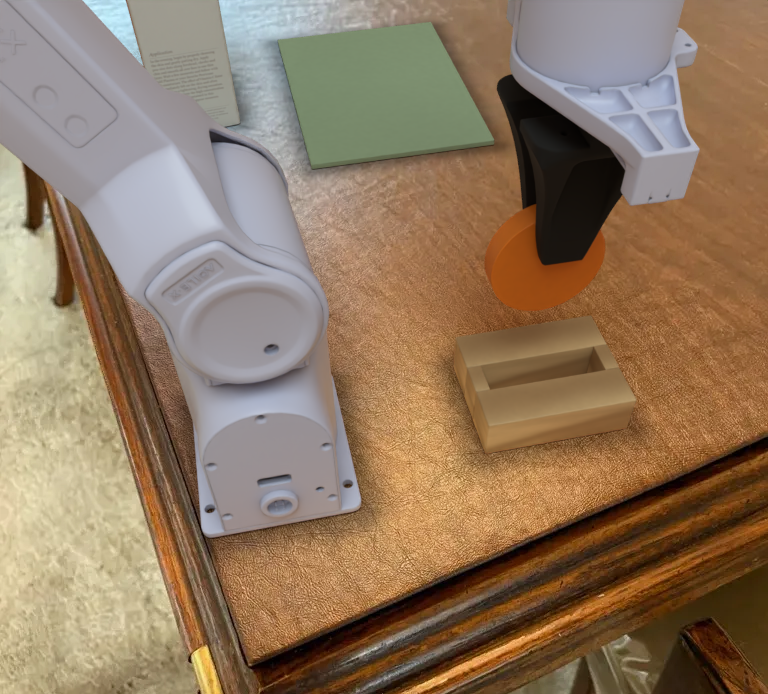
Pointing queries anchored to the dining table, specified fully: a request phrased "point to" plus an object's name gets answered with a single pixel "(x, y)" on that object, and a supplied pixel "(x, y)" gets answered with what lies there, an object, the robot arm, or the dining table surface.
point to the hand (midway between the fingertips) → (554, 246)
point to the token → (535, 267)
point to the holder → (541, 384)
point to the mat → (379, 95)
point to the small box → (187, 52)
